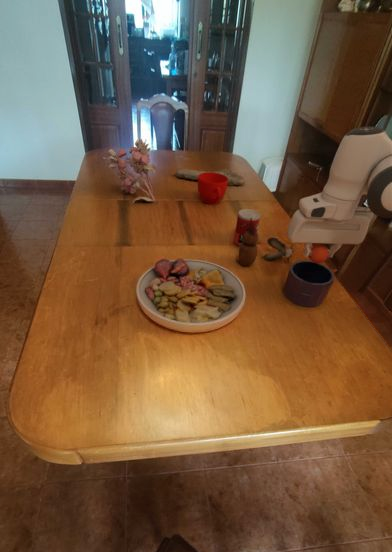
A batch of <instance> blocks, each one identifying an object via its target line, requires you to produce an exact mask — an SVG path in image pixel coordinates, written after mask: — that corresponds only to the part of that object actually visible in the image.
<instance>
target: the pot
mask: <svg viewBox="0 0 392 552" xmlns="http://www.w3.org/2000/svg"><path fill="white" fill-rule="evenodd" d="M334 281H335V273H334V272H333V271H332V269H331V268H329V266H327V265H325V264H322V263H314V262H312V261H311V260H307V259H306V260H297V261H294V262H293V263H291V264H290V266H289V269H288V272H287V274H286V278H285V282H284V285H283V289H282V294H283V296H284V297H285V299H286V300H287V301H288V302H290V303H292V304H293V305H296V306H298V307H301V308H310V309H311V308H317V307H320V306H322V305H323V304H324V303H325V301H326V299H327V297H328V294H329V292H330V290H331V287H332V286H333V283H334Z"/></svg>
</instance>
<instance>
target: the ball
mask: <svg viewBox="0 0 392 552" xmlns="http://www.w3.org/2000/svg"><path fill="white" fill-rule="evenodd" d="M310 249H311V251H313V253H312V255H311V257H308V258H309V261H312V262H314V263H320V264H322V263H324V262H325V261H327V259H328V258H327V257H328V254H329V252H328V249H329V248H328V247H327V246H326V245H324V244H322V243H318V244H315V245H314V246H311V248H310Z"/></svg>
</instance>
